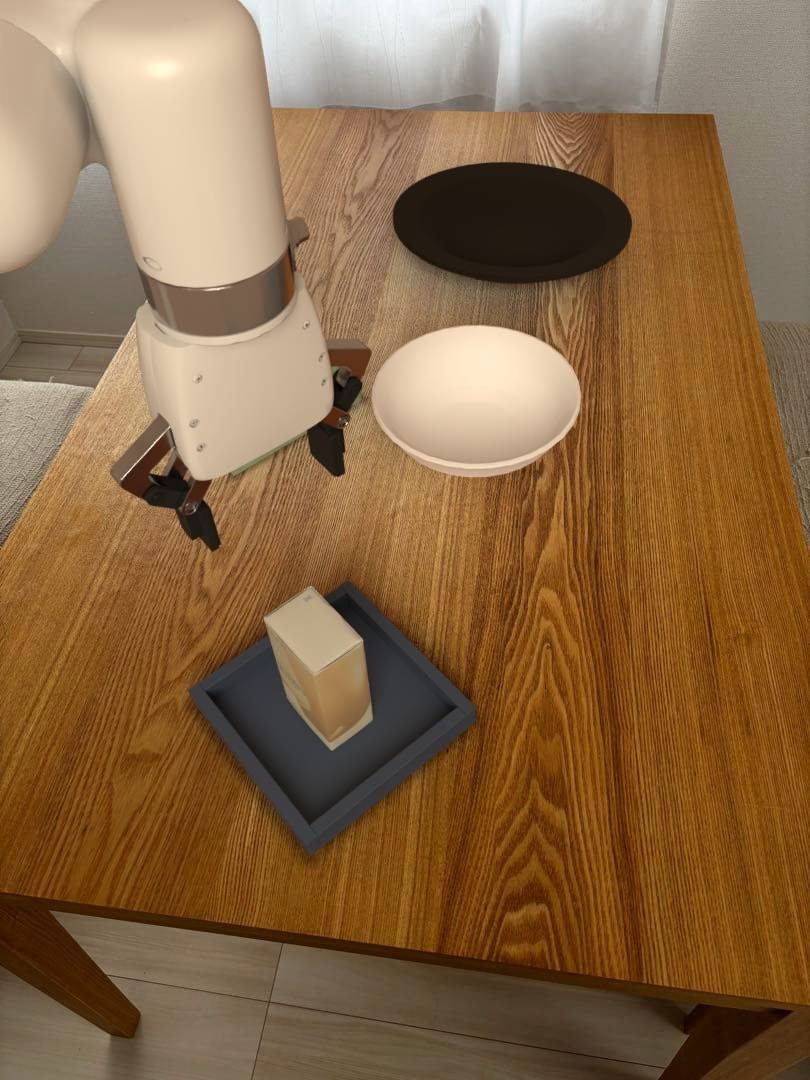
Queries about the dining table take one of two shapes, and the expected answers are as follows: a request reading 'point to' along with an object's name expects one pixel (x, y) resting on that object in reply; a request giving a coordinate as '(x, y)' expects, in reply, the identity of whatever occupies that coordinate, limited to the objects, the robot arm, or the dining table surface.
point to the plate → (512, 222)
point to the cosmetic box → (321, 666)
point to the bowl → (476, 399)
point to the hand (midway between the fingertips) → (268, 499)
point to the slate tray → (360, 762)
